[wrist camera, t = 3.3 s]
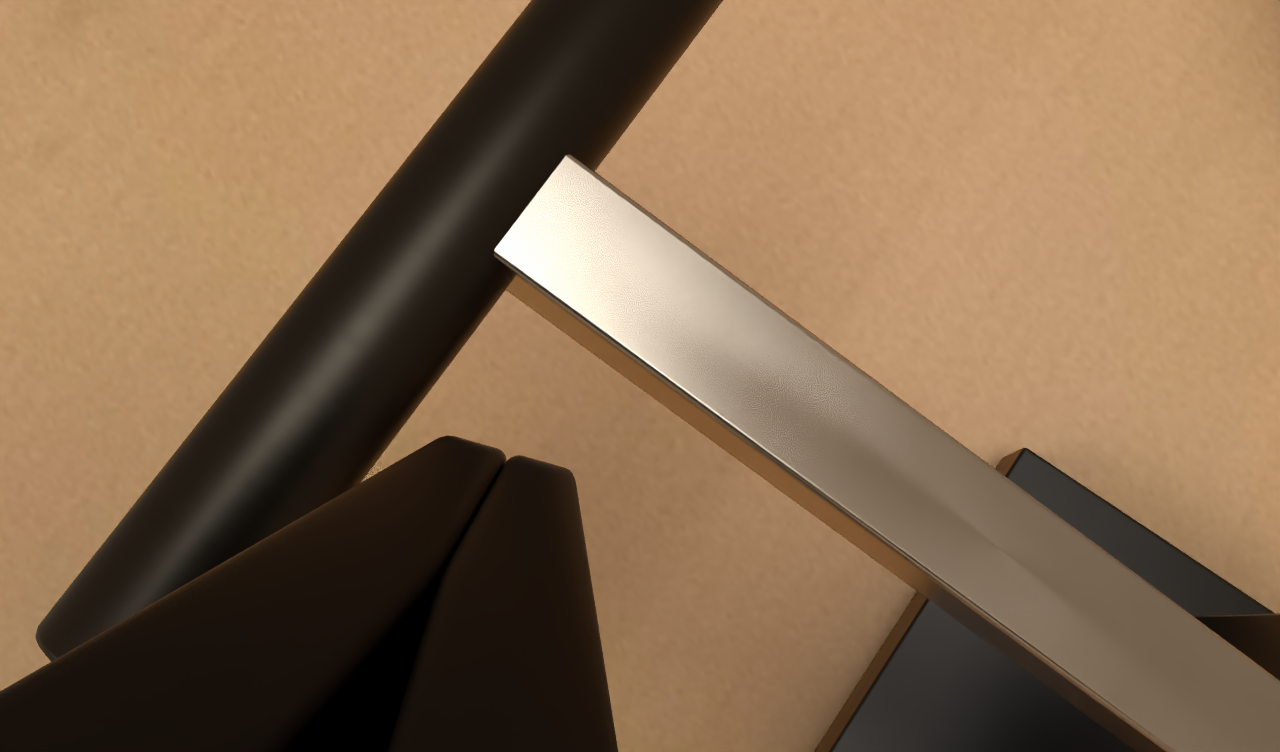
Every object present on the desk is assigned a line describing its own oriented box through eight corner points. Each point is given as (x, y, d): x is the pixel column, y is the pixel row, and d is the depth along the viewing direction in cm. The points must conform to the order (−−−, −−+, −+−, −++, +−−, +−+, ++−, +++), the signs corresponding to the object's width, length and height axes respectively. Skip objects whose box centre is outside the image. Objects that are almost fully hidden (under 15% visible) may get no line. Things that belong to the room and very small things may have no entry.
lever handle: (81, 617, 11) (-22, 647, 8) (721, -202, 13) (784, -367, 10) (1318, 1477, 12) (1539, 1722, 9) (1755, 597, 13) (2036, 615, 11)
